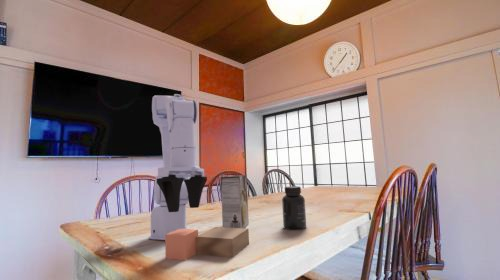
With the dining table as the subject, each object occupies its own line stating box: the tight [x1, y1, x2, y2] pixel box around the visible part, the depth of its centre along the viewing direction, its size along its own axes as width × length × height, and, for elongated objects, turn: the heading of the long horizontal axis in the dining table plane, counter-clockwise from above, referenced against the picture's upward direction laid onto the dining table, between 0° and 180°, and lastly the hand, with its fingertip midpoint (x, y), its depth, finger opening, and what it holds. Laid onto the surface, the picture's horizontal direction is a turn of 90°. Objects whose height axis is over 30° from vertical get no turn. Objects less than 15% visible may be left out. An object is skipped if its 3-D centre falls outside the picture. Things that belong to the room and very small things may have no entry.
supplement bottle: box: [281, 185, 307, 231], centre depth 75 cm, size 7×7×12 cm
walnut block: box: [195, 226, 250, 258], centre depth 58 cm, size 9×9×4 cm
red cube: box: [164, 228, 199, 261], centre depth 55 cm, size 5×5×5 cm
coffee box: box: [220, 174, 250, 229], centre depth 79 cm, size 9×6×16 cm
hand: (184, 209), depth 55 cm, fingers open, 7 cm apart
